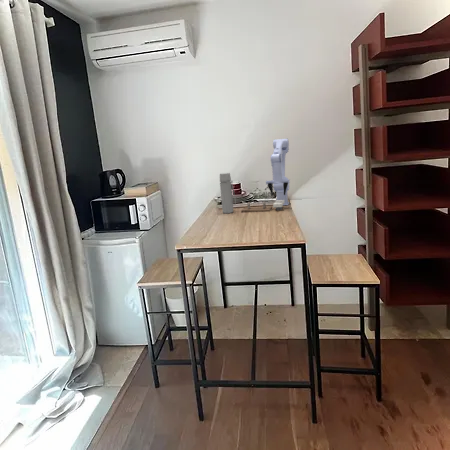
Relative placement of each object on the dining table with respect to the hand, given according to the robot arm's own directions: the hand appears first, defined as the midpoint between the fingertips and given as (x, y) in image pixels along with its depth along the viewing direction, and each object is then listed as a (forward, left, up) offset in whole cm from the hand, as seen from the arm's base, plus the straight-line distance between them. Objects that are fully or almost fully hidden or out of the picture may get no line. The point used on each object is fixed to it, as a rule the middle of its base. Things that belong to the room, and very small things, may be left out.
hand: (278, 195), depth 240 cm
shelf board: (0, 0, -6) cm, 6 cm away
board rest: (0, 0, -9) cm, 9 cm away
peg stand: (+2, -14, -9) cm, 17 cm away
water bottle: (+6, -31, -9) cm, 33 cm away
